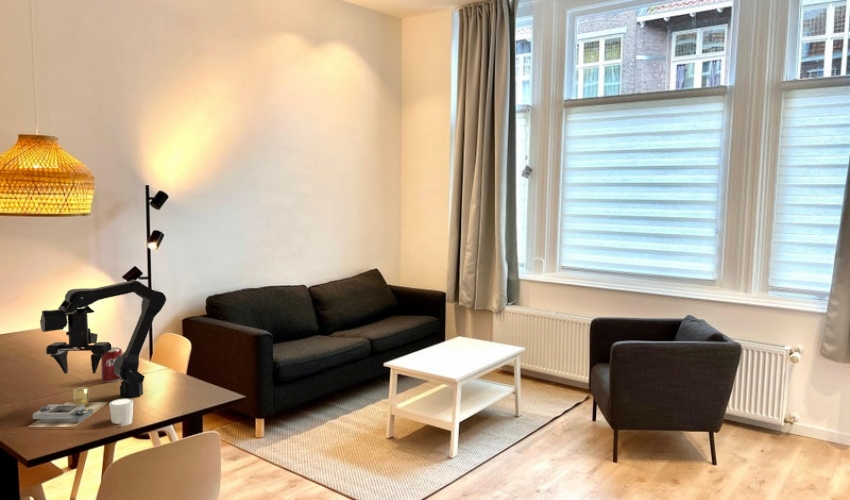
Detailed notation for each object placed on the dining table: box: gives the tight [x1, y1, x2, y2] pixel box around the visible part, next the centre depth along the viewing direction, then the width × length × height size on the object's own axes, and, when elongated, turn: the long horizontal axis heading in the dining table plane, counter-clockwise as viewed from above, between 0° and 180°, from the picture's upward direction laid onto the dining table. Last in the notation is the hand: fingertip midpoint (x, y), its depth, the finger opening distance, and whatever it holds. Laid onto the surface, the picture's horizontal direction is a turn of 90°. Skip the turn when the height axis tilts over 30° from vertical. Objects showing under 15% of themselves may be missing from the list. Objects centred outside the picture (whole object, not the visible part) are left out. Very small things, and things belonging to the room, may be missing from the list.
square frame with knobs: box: [32, 403, 94, 424], centre depth 194 cm, size 14×9×4 cm, turn 92°
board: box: [27, 401, 109, 431], centre depth 198 cm, size 14×22×1 cm, turn 2°
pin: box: [72, 386, 90, 408], centre depth 205 cm, size 4×4×6 cm
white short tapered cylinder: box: [108, 398, 134, 427], centre depth 193 cm, size 7×7×7 cm
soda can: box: [100, 346, 123, 383], centre depth 237 cm, size 7×7×12 cm
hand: (80, 373), depth 204 cm, fingers open, 9 cm apart
